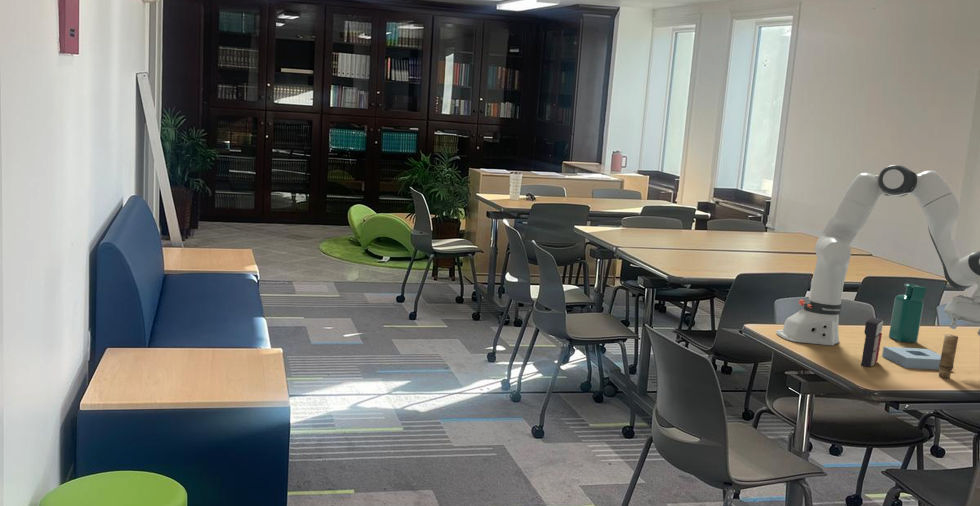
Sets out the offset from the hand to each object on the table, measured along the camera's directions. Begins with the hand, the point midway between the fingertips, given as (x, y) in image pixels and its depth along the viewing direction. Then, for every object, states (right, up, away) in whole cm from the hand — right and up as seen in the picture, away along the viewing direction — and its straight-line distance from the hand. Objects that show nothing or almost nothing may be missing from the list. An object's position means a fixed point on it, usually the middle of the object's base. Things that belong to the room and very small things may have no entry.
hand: (965, 331), depth 307 cm
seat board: (-11, -12, +13) cm, 21 cm away
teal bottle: (+1, -8, +48) cm, 48 cm away
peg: (-9, -15, -3) cm, 17 cm away
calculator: (-30, -12, +6) cm, 33 cm away
